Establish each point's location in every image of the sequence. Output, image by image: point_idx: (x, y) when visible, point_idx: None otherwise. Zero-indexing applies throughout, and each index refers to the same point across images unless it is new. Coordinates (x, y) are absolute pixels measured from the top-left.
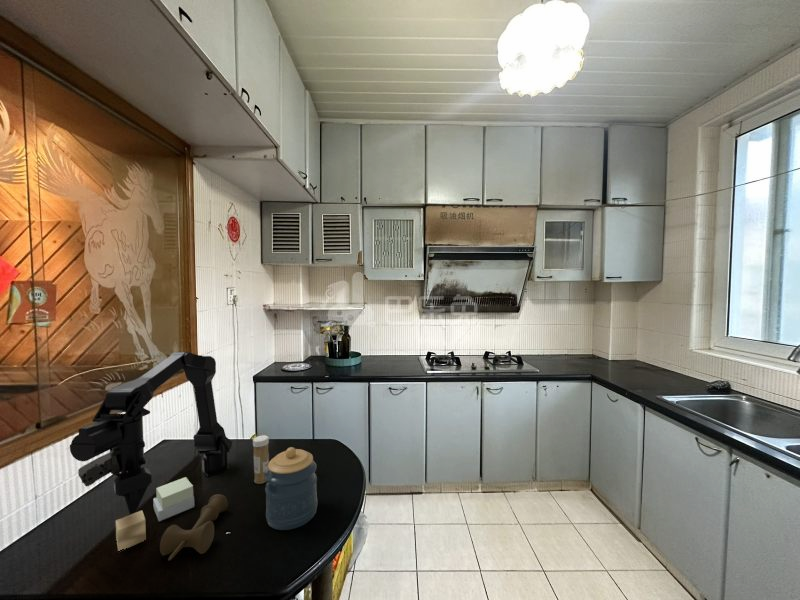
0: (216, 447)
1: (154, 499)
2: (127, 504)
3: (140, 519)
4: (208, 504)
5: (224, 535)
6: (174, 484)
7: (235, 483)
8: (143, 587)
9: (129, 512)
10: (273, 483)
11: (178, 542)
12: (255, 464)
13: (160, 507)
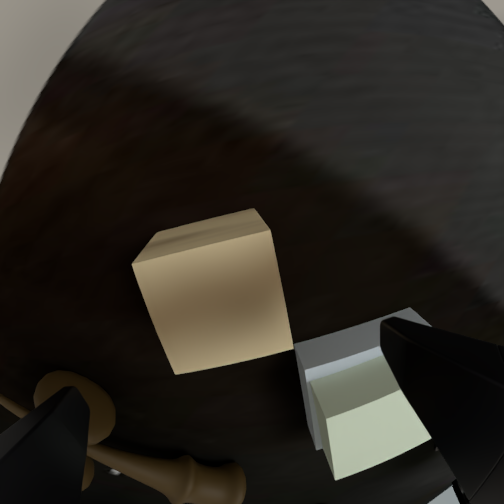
0: (465, 500)
1: None
2: (2, 437)
3: (191, 355)
4: (205, 492)
5: (106, 466)
6: (411, 424)
7: (350, 478)
8: None
9: (53, 394)
10: None
11: None
12: None
13: (336, 369)
